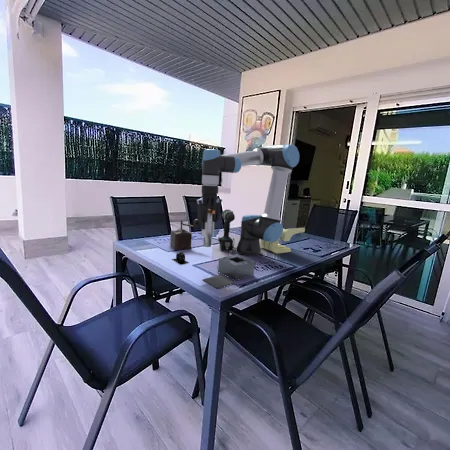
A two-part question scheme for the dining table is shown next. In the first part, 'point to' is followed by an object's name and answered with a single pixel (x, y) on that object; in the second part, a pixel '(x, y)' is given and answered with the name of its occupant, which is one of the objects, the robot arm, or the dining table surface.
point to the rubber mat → (218, 281)
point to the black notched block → (180, 259)
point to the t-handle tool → (209, 228)
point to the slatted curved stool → (285, 237)
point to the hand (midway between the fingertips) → (207, 235)
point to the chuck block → (236, 266)
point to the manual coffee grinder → (182, 237)
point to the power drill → (227, 231)
